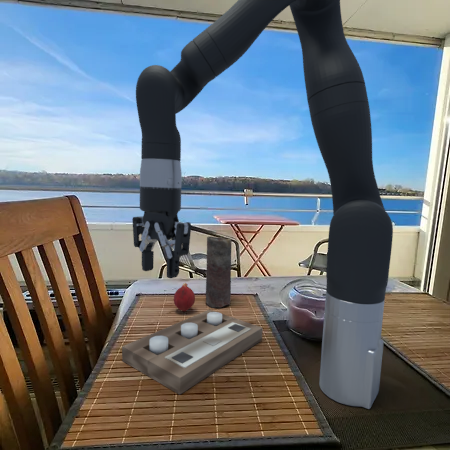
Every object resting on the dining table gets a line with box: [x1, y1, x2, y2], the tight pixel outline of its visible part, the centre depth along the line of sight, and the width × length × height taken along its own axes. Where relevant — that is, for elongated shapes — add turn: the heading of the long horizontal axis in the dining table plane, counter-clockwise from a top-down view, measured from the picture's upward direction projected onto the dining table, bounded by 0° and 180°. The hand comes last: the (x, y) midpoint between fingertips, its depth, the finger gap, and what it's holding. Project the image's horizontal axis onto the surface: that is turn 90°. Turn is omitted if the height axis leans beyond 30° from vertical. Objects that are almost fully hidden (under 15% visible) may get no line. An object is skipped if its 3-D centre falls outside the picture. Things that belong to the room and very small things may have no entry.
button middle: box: [181, 323, 198, 339], centre depth 71 cm, size 4×4×2 cm
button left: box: [149, 336, 168, 355], centre depth 64 cm, size 4×4×2 cm
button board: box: [121, 309, 263, 395], centre depth 69 cm, size 16×26×3 cm, turn 142°
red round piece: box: [173, 282, 196, 313], centre depth 90 cm, size 6×6×8 cm
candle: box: [205, 236, 232, 309], centre depth 96 cm, size 8×7×20 cm
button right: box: [207, 311, 223, 326], centre depth 77 cm, size 4×4×2 cm
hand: (159, 273), depth 62 cm, fingers open, 6 cm apart
